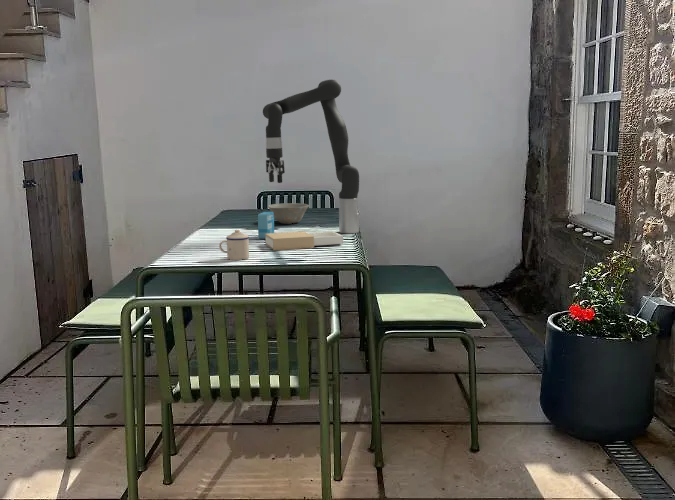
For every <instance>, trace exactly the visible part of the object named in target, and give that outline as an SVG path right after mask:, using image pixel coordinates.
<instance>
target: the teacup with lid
mask: <svg viewBox="0 0 675 500" xmlns="http://www.w3.org/2000/svg"><path fill="white" fill-rule="evenodd" d="M249 238H250V236H249V235H248V234H245V233H243V232H242V231H241V230H240V229H235V230H234V232H232V233H231V234H229V235H227V236H226V237H225V239H226V240H222V241H220V243H219V244H218V245H219V246H218V247H219V250H220V251H221V252H222V253H224V254H227V255H226V256H227V259H228V260H229V259H230V261H243V260H242V259H245V260H248V259H249V258H250V244H249V243H250V241H249ZM223 243H226V250H224V249H223V248H222V244H223Z"/></svg>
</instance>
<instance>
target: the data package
mask: <svg viewBox="0 0 675 500" xmlns="http://www.w3.org/2000/svg"><path fill="white" fill-rule="evenodd" d="M257 229H258V230H257V231H258V233H257V234H258V236H257V237H258V239H259V240H265V234H268V233H275V218H274V213H273V212H271V211H263V212H260V213H258V215H257Z"/></svg>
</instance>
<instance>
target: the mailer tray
mask: <svg viewBox="0 0 675 500" xmlns="http://www.w3.org/2000/svg"><path fill="white" fill-rule="evenodd" d="M307 233H308V234H310V235H312V236H314V247H315V246H327V245H328V246H329V245H331V246H332V245H343V244H344V235H342V234H341V233H337V232H336V231H323V232H321V231H320V232H307ZM266 244H268V245H269V246H270V247H272V248H273V239H271V238H270V237H268V236H266V242H265V245H266ZM270 247H269V248H270Z"/></svg>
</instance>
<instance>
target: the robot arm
mask: <svg viewBox="0 0 675 500" xmlns="http://www.w3.org/2000/svg"><path fill="white" fill-rule="evenodd" d="M341 92H342V86H341V84H340V82H339V81H338V80H335V79H325V80H322V81H320V82H319V84H317V87H315V88H313V89H310V90H306V91H303V92H299V93H296V94H292V95H291V96H288V97H285V98H283V99H281V100H277V101H273V102H270V103H268V104H266V105H264V107H262V115H263V117H264V118H266V119H267V121H268V122H267V125H265V151H266V152H265V154H266V158H267V159H265V169H266V170H265V172H266V173H267V174H268V182H269V183H274V182H275V175H274V174H275V173H274V172H276V180H277V181H276V183H277V184H282V183H283V175H284V174H285V161H284V159H283V160H281V159H282V158H283V157H284V156H283V155H284V154H283V141H282V129H281V127H282V123H283V115H286V114H291V113H293V112H296V111H300V110H301V109H303V108H306V107H308V106H311V105H314V104H316V103H319V102H320V105H321V108H322V110H323V115H324V119H325V124H326V129H327V134H328V138H329V141H330V146H331V151H332V154H333V159H334V164H335V165H334V166H335V174H336V180H338V182H339V183H341V189H340V191H339V193H338V222H339V223H338V225H339V228H338V229H339V234H355V233H356V234H357V233H360V213H358V196H359V195H358V194H359V192H360V172H359V170H358V169H357V168H356V167H355V166H352V165H351V163H350V159H349V154H348V153H349V134H348V129H347V125H346V122H345V120H344V119H343V116H341V113H340V112H339V110H338V107H337V104H336V103H337V102H336V99H337V98H338V97H339V96H340V95H341Z"/></svg>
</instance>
